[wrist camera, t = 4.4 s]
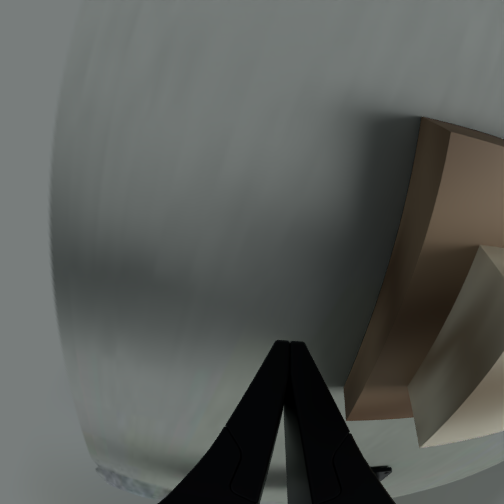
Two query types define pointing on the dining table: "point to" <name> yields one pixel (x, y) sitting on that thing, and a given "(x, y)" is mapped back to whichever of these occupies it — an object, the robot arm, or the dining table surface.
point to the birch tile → (465, 362)
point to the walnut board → (428, 262)
